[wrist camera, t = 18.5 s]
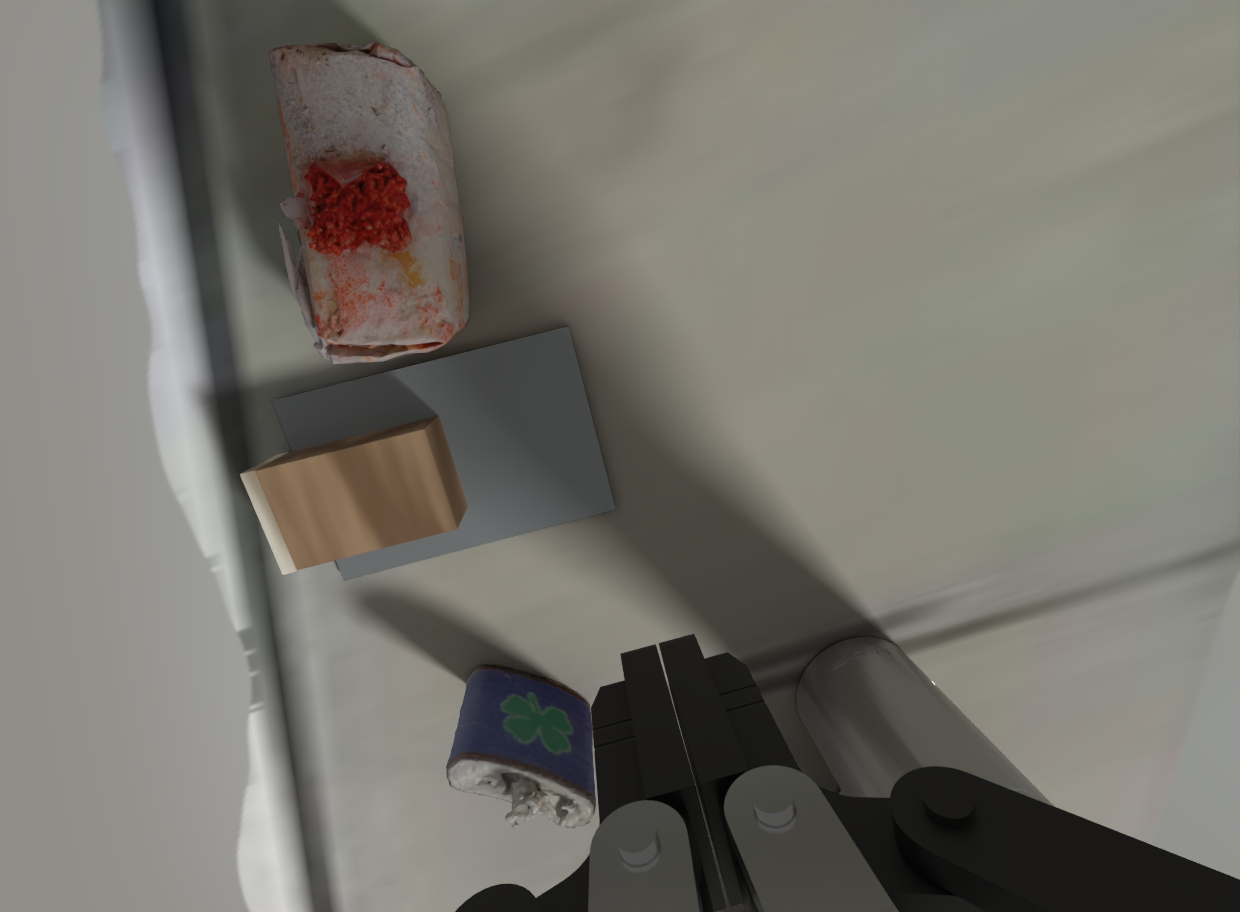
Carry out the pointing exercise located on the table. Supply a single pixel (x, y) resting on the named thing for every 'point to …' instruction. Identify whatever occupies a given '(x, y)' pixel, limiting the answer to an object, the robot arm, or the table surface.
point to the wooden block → (357, 494)
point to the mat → (476, 438)
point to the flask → (525, 746)
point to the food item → (370, 202)
